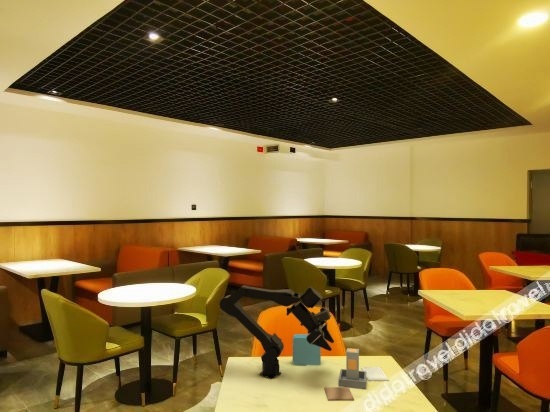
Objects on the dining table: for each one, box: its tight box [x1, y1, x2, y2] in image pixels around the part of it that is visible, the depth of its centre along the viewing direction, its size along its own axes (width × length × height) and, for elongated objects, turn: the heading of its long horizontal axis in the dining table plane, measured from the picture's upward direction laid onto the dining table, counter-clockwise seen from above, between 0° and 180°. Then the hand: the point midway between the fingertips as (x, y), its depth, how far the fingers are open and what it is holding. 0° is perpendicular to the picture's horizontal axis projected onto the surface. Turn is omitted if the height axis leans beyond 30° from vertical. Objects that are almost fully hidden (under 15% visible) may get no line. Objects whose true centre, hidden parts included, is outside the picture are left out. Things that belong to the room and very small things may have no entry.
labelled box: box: [345, 347, 360, 380], centre depth 149 cm, size 4×5×12 cm
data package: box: [292, 333, 322, 367], centre depth 169 cm, size 12×4×12 cm, turn 86°
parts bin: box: [337, 368, 367, 390], centre depth 149 cm, size 10×10×3 cm
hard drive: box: [360, 366, 390, 382], centre depth 156 cm, size 2×8×12 cm
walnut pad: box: [323, 386, 355, 402], centre depth 139 cm, size 9×9×1 cm
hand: (332, 346), depth 151 cm, fingers open, 9 cm apart
